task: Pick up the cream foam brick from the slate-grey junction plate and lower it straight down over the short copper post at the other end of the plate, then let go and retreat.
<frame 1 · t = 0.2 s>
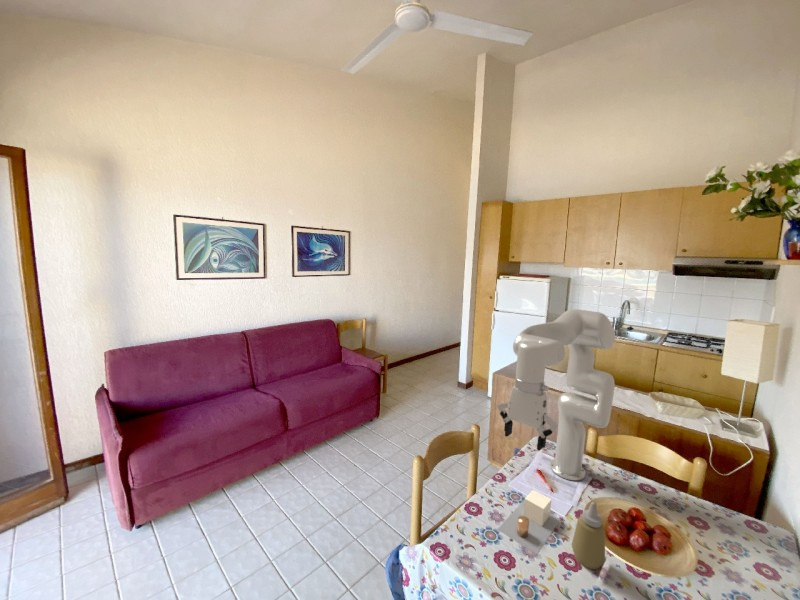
hand: (523, 441, 99), 30 cm above the table, fingers open, 9 cm apart
cream foam brick: (536, 516, 109), point 1 cm above the table, touching plate
plate: (529, 527, 106), on the table
squeeze bottle: (586, 562, 95), on the table
post: (522, 533, 102), resting on plate
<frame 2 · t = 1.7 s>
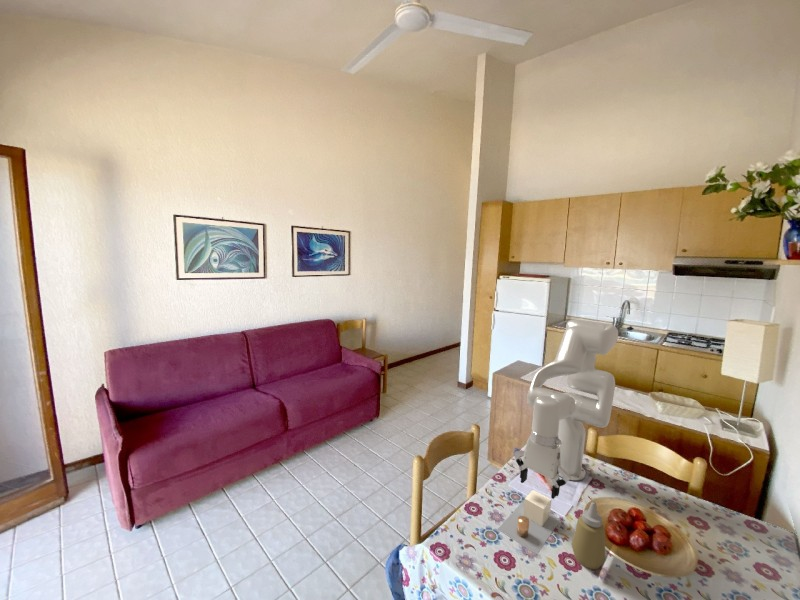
hand: (538, 488, 107), 11 cm above the table, fingers open, 9 cm apart
nothing on the table moved.
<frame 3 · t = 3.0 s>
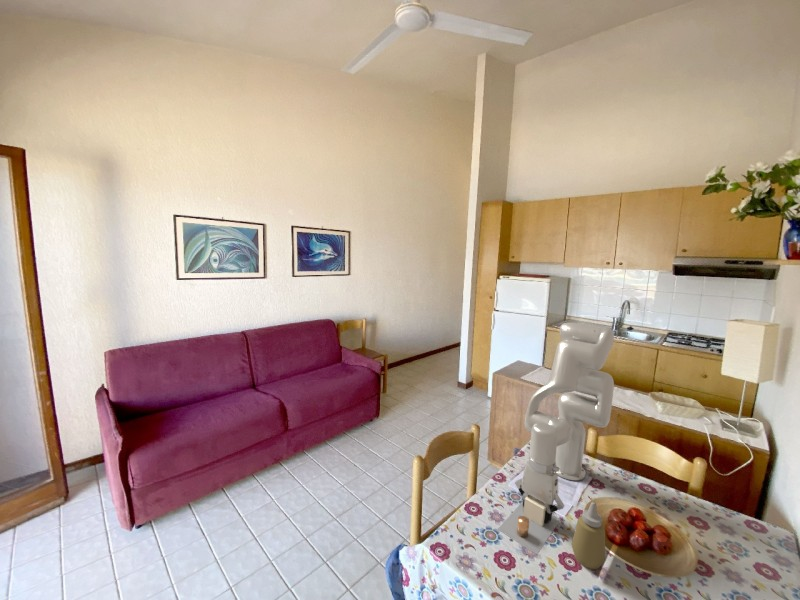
hand: (536, 514, 109), 2 cm above the table, fingers closed on cream foam brick, 5 cm apart
cream foam brick: (536, 515, 109), point 1 cm above the table, touching gripper, plate
everything else where it was.
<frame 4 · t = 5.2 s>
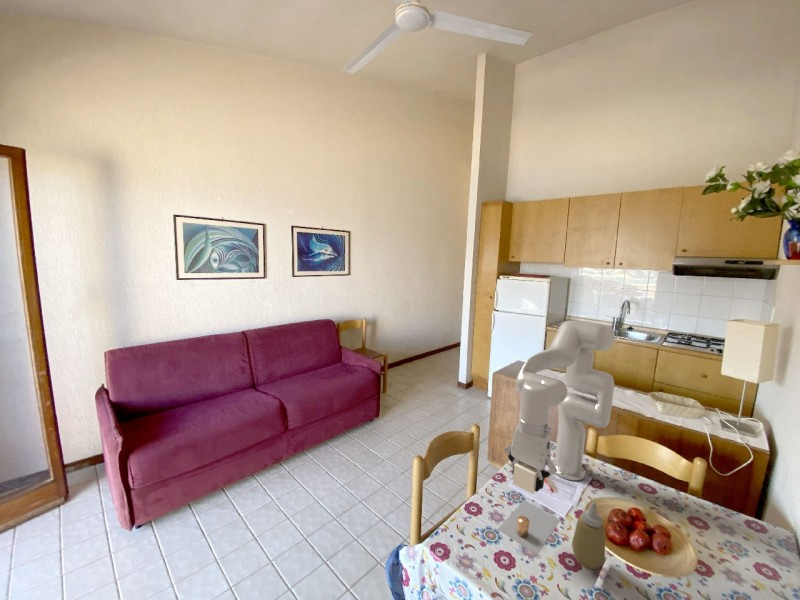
hand: (527, 483, 100), 18 cm above the table, fingers closed on cream foam brick, 5 cm apart
cream foam brick: (527, 484, 100), point 17 cm above the table, touching gripper
everything else where it was.
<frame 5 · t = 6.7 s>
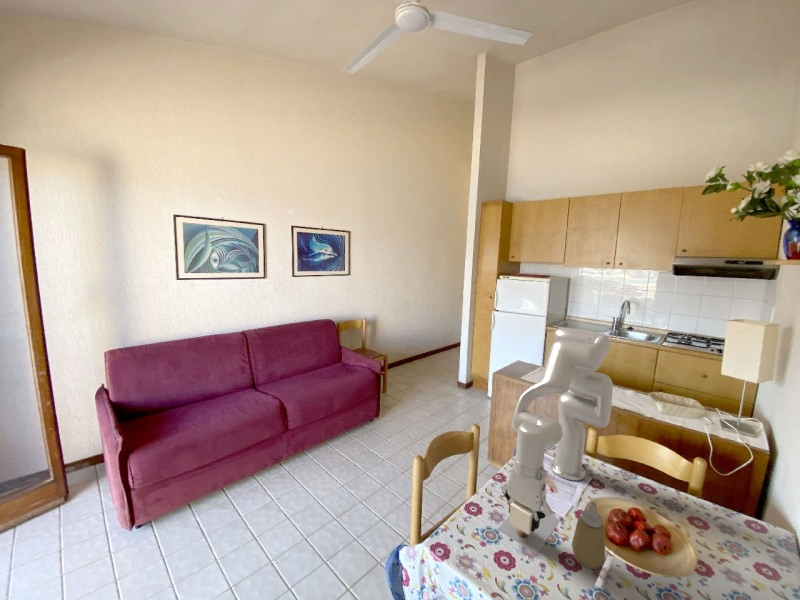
hand: (523, 522, 101), 5 cm above the table, fingers closed on cream foam brick, 5 cm apart
cream foam brick: (523, 523, 101), point 5 cm above the table, touching gripper
everything else where it was.
when the fingers open (3 cm above the table, at t = 7.6 s): cream foam brick drops 1 cm, resting on plate.
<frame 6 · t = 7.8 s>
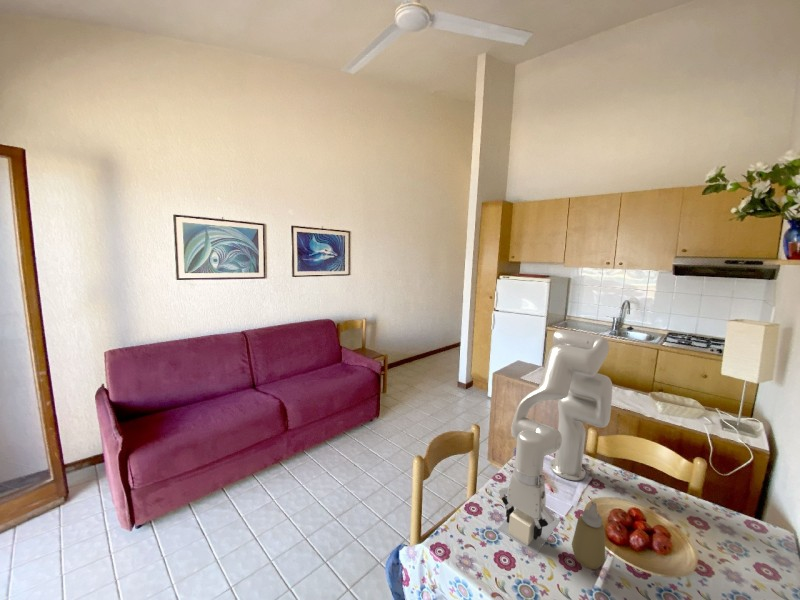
hand: (522, 527, 102), 3 cm above the table, fingers open, 7 cm apart
cream foam brick: (522, 533, 102), point 1 cm above the table, touching plate
everything else where it was.
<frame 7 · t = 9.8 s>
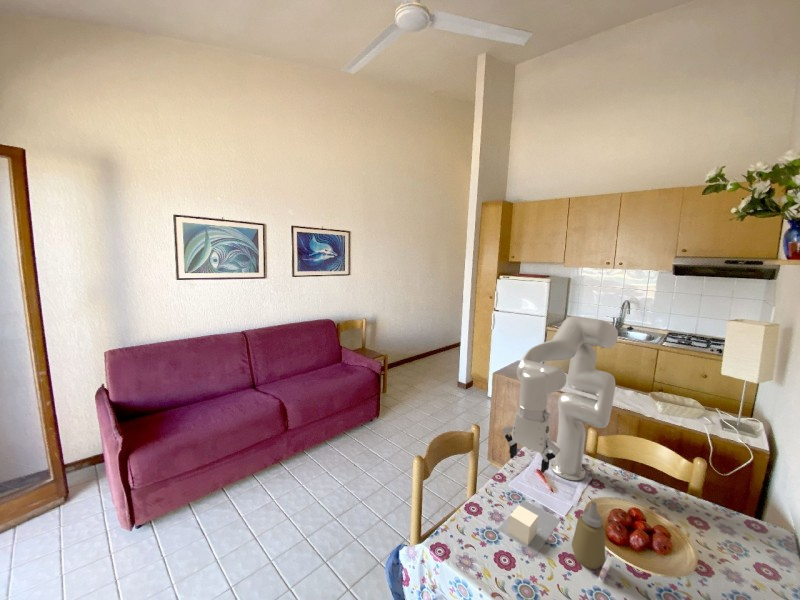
hand: (528, 463, 105), 20 cm above the table, fingers open, 9 cm apart
nothing on the table moved.
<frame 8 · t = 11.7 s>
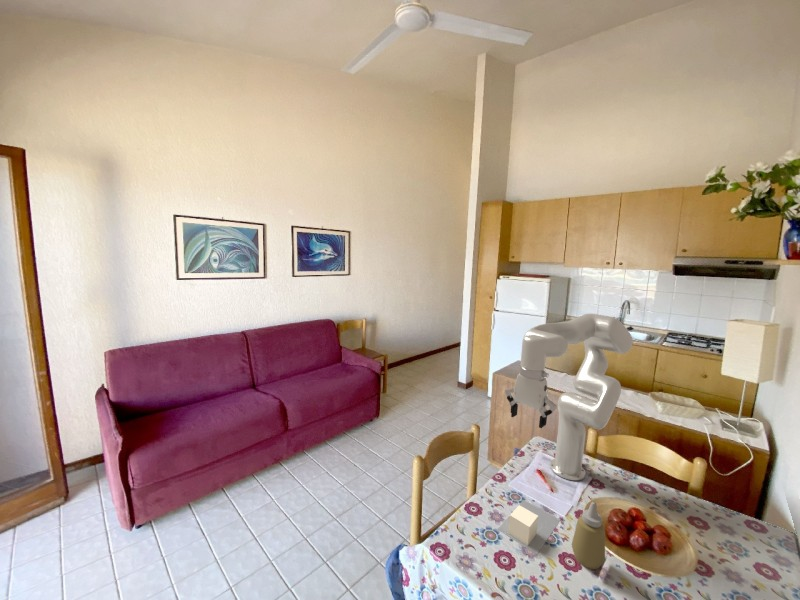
hand: (527, 421, 115), 28 cm above the table, fingers open, 9 cm apart
nothing on the table moved.
at the end: cream foam brick 0.0 cm off-centre on the post, point 0.0 cm above the post's base; cream foam brick tilted 0°; the gripper is holding nothing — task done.
